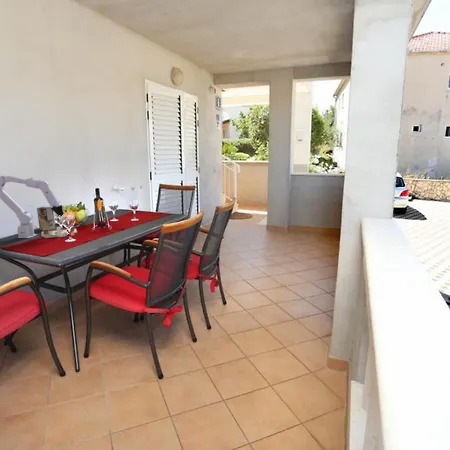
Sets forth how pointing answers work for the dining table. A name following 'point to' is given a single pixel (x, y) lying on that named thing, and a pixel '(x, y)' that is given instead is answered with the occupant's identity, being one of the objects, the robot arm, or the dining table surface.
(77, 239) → the dining table surface
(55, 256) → the dining table surface
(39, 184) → the robot arm
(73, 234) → the glasses frame
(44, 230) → the display stand
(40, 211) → the coffee box
